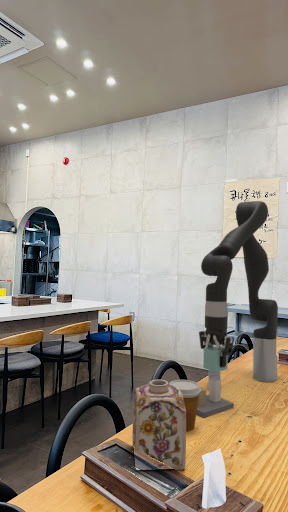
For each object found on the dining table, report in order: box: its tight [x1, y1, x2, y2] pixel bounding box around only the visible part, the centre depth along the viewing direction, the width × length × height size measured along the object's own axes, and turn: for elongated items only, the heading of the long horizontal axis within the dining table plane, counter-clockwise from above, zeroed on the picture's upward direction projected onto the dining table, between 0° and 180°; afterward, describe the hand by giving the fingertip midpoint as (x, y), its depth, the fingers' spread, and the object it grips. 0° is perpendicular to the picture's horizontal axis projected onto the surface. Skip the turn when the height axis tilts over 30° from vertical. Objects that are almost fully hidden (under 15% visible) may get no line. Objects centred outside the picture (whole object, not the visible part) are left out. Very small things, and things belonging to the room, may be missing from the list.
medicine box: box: [207, 369, 221, 391], centre depth 132 cm, size 8×4×9 cm, turn 168°
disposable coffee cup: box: [168, 379, 201, 432], centre depth 99 cm, size 10×10×12 cm
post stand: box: [196, 378, 235, 419], centre depth 113 cm, size 14×10×8 cm
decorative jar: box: [132, 379, 187, 471], centre depth 83 cm, size 12×12×18 cm
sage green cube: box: [203, 345, 229, 372], centre depth 115 cm, size 6×6×7 cm
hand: (215, 364), depth 115 cm, fingers closed on sage green cube, 5 cm apart
